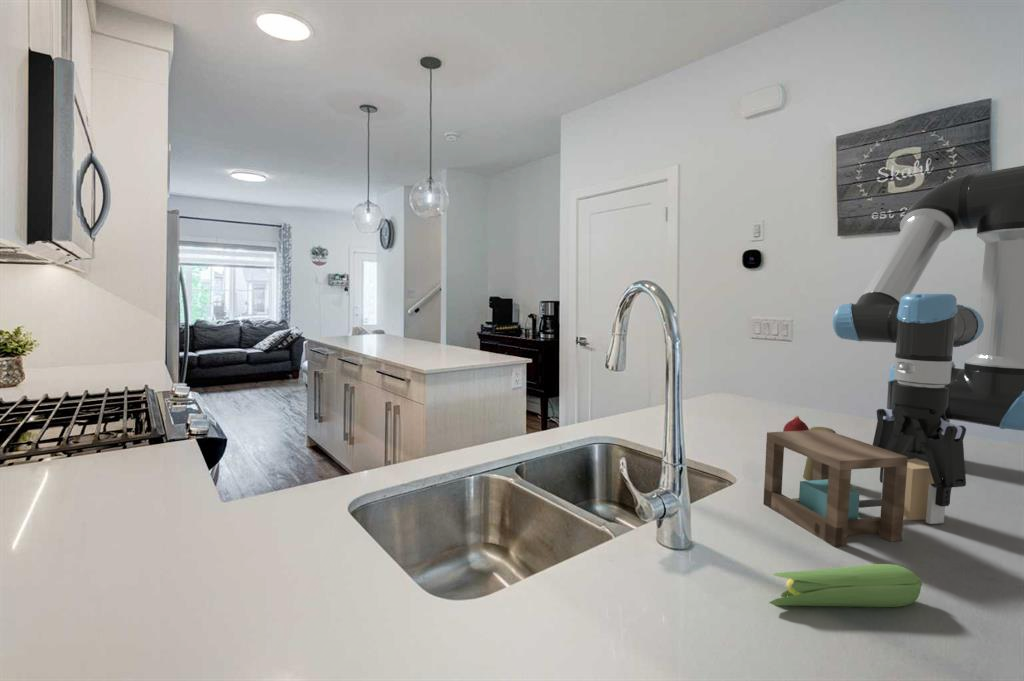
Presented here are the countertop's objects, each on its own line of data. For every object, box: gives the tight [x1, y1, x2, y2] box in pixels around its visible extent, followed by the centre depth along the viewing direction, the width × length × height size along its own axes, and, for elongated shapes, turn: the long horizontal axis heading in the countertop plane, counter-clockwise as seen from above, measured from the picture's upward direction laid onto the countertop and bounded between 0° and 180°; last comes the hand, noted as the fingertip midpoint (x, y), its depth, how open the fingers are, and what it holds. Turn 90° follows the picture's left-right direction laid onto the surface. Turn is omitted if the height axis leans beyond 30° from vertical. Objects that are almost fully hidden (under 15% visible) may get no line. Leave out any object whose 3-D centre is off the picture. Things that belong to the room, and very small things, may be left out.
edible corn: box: [768, 563, 923, 608], centre depth 61 cm, size 5×20×5 cm
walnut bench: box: [763, 430, 908, 548], centre depth 83 cm, size 12×16×13 cm
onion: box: [782, 415, 810, 432], centre depth 125 cm, size 6×6×8 cm
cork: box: [802, 426, 837, 481], centre depth 102 cm, size 6×6×11 cm
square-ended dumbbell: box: [798, 459, 934, 521], centre depth 84 cm, size 23×6×9 cm, turn 100°
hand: (910, 511), depth 86 cm, fingers open, 7 cm apart
